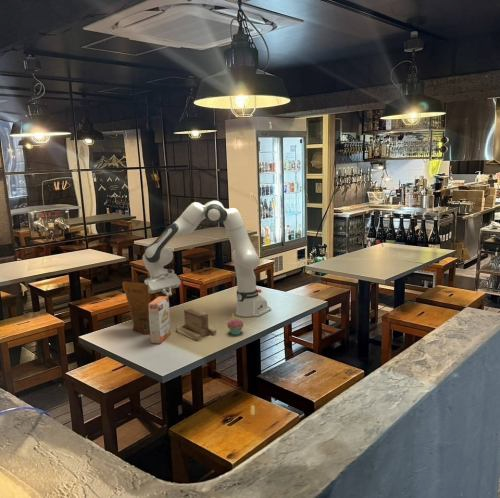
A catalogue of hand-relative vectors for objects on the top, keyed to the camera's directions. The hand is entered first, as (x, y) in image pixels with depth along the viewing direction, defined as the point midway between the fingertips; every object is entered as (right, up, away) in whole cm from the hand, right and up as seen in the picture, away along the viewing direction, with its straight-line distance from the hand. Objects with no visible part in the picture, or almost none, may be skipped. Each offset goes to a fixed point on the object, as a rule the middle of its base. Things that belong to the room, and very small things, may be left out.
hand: (169, 295), depth 256 cm
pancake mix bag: (-14, -19, -9) cm, 25 cm away
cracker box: (-1, -21, -20) cm, 29 cm away
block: (+17, -19, -15) cm, 29 cm away
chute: (+16, -18, -14) cm, 28 cm away
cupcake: (+38, -18, -16) cm, 45 cm away
